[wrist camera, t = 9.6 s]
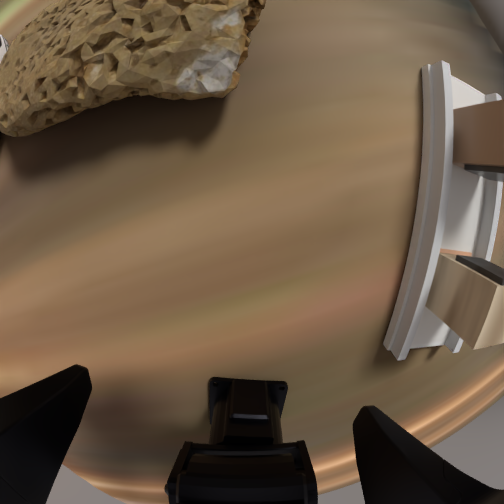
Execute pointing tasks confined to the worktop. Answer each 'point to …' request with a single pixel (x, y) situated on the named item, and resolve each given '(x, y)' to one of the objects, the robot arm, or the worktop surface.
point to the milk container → (3, 47)
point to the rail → (449, 200)
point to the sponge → (121, 56)
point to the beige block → (469, 298)
